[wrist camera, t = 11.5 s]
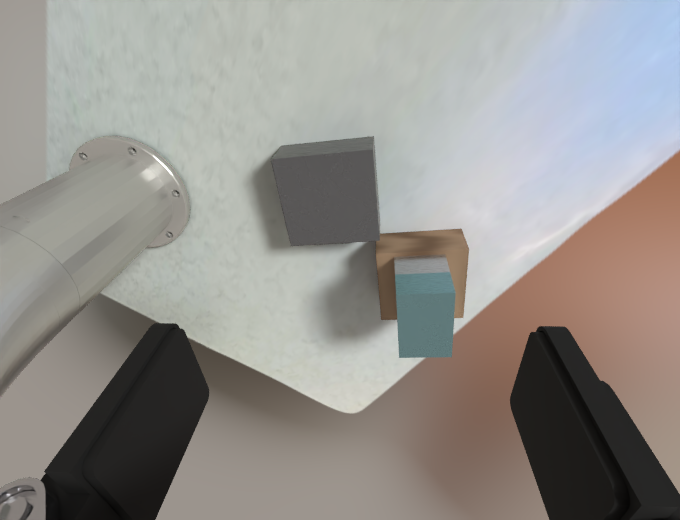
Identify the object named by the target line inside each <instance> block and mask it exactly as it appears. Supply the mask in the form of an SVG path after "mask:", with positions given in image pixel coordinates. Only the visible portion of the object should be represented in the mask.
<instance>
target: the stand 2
mask: <svg viewBox="0 0 680 520" xmlns="http://www.w3.org/2000/svg"><path fill="white" fill-rule="evenodd" d="M440 254H445V255H446V258H447V262H448V266H449V270H450V273H451V277H452V281H453V285H454V288H455V292H456V295H455V311H454V318H463V314H464V302H465V290H466V278H467V266H468V254H469V248H468V245H467V242H466V240H465V237H464V234H463V232H462V229H451V230H435V231H418V232H402V233H386V234H380V241H376V262H377V274H378V285H379V297H380V309H381V320H395V319H397V303H396V284H395V264H394V257H402V256H421V255H440Z"/></svg>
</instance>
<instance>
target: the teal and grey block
mask: <svg viewBox="0 0 680 520" xmlns="http://www.w3.org/2000/svg"><path fill="white" fill-rule="evenodd" d="M394 264H395V284H396V303H397V322H398V341H399V358H409V357H452V343H453V327H454V311H455V295H456V292H455V288H454V285H453V281H452V277H451V273H450V270H449V266H448V262H447V258H446V255H445V254H440V255H421V256H402V257H394Z"/></svg>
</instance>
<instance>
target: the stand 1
mask: <svg viewBox="0 0 680 520" xmlns="http://www.w3.org/2000/svg"><path fill="white" fill-rule="evenodd" d="M271 162H272V166H273V171H274V175H275V179H276V183H277V188H278V192H279V196H280V200H281V205H282V209H283V213H284V217H285V222H286V226H287V230H288V235H289V239H290V243H291V246H299V245H316V244H333V243H350V242H367V241H380V214H379V201H378V187H377V173H376V159H375V145H374V136H373V137H363V138H354V139H344V140H334V141H324V142H314V143H305V144H295V145H285V146H281V147H280V148H279V149H278V151H277V152H276V153H275V155H274V156H273V157H272V158H271Z"/></svg>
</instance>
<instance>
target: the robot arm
mask: <svg viewBox="0 0 680 520" xmlns="http://www.w3.org/2000/svg"><path fill="white" fill-rule="evenodd" d="M189 217H190V201H189V196H188V193H187V190H186V187H185V185H184V183H183V182H182V180H181V178H180V176H179V175H178V173H177V172H176V171H175V169H174V168H173V167H172V166H171V165H170V164H169V163H168V162H167V161H166V160H165V159H164V158H163V157H162V156H161V155H160V154H158V153H157V152H156V151H154V150H153V149H152V148H150V147H148V146H146V145H144V144H143V143H141V142H138V141H135V140H133V139H130V138H126V137H121V136H103V137H99V138H95V139H93V140H91V141H88V142H86V143H85V144H83V145H82V146H80V147H79V148H78V149H77V151H76V152H75V153H74V155H73V157H72V159H71V162H70V168H69V171H68V172H65V173H63V174H61V175H59V176H57V177H55V178H53V179H51V180H49V181H47V182H45V183H43V184H41V185H39V186H37V187H35V188H33V189H31V190H29V191H27V192H25V193H23V194H21V195H19V196H17V197H15V198H13V199H11V200H9V201H6V202H4V203H3V204H1V205H0V398H1V397H2V395H3V394H4V393H5V392H6V390H7V389H8V388H9V386H10V385H11V384H12V383H13V382H14V380H15V379H16V378H17V377H18V376H19V374H20V373H21V372H22V371H23V370H24V368H25V367H26V366H27V365H28V364H29V363H30V362H31V361H32V360H33V359H34V358H35V356H36V355H37V354H38V353H39V352H40V351H41V350H42V349H43V348H44V347H45V346H46V345H47V344H48V343H49V342H50V341H51V340H52V339H53V338H54V337H55V336H56V335H57V334H58V333H59V332H60V331H61V330H62V329H63V328H64V327H65V326H66V325H67V324H68V323H69V322H70V321H71V320H72V319H73V318H74V317H75V316H76V315H77V314H78V313H79V312H80V311H82V310H83V309H84V308H85V307H86V306H87V305H88V304H89V303H90V302H91V301H92V300H93V299H94V298H95V297H96V296H97V295H98V294H99V293H100V292H101V291H102V290H103V289H104V288H105V287H106V286H107V285H108V284H109V283H110V282H111V281H112V280H113V279H114V278H115V277H116V276H117V275H118V274H119V273H120V272H121V271H122V270H123V269H124V268H125V267H127V266H128V265H129V264H130V263H131V262H132V261H133V260H134V259H135V258H136V257H137V256H138V255H139V254H140V253H141V252H142V251H143V250H144V249H145V248H146V247H158V246H163V245H165V244H168V243H170V242H172V241H173V240H175V239H176V238H177V237H178V236H179V235H180V234H181V233H182V232H183V230H184V229H185V227H186V226H187V224H188V221H189ZM208 397H209V388H208V386H207V383H206V381H205V378H204V376H203V374H202V371H201V369H200V366H199V364H198V362H197V360H196V357H195V355H194V352H193V350H192V348H191V345H190V343H189V341H188V338H187V336H186V333H185V331H184V330H183V329H180V328H179V326H178V325H177V324H164V323H156V324H153V325H152V326H151V327H150V328H149V330H148V331H147V332H146V334H145V335H144V336H143V338H142V339H141V340H140V342H139V343H138V344H137V346H136V347H135V348H134V350H133V351H132V353H131V354H130V355H129V357H128V358H127V359H126V361H125V362H124V363H123V365H122V366H121V368H120V369H119V370H118V372H117V373H116V375H115V376H114V377H113V379H112V380H111V381H110V383H109V384H108V385H107V387H106V388H105V389H104V391H103V392H102V393H101V395H100V396H99V398H98V399H97V400H96V402H95V403H94V404H93V406H92V407H91V408H90V410H89V411H88V413H87V414H86V415H85V417H84V418H83V419H82V421H81V422H80V423H79V425H78V426H77V428H76V429H75V430H74V432H73V433H72V435H71V436H70V437H69V438H68V440H67V441H66V443H65V444H64V446H63V447H62V448H61V449H60V451H59V452H58V454H57V455H56V456H55V458H54V459H53V460H52V462H51V463H50V464H49V466H48V467H47V469H46V470H45V471H44V472H45V473H46V474H45V475H44V476H43V478H42V479H41V480H39V479H37V478H31V477H28V478H23V479H18V480H16V481H13V482H11V483H8V484H6V485H4V486H3V487H1V488H0V520H155V519H156V517H157V515H158V512H159V510H160V508H161V505H162V503H163V501H164V499H165V496H166V494H167V492H168V490H169V487H170V485H171V483H172V480H173V478H174V476H175V474H176V471H177V469H178V467H179V465H180V462H181V460H182V458H183V456H184V453H185V451H186V449H187V446H188V444H189V442H190V440H191V437H192V435H193V433H194V431H195V428H196V426H197V424H198V422H199V419H200V417H201V415H202V413H203V410H204V408H205V405H206V403H207V401H208ZM510 404H511V410H512V413H513V416H514V419H515V422H516V424H517V427H518V430H519V433H520V436H521V439H522V442H523V445H524V447H525V450H526V453H527V456H528V459H529V462H530V465H531V468H532V471H533V473H534V476H535V479H536V482H537V485H538V488H539V491H540V494H541V496H542V500H543V502H544V505H545V508H546V511H547V514H548V517H549V520H680V494H679V493H678V491H677V489H676V488H675V486H674V485H673V483H672V482H671V480H670V479H669V477H668V475H667V474H666V472H665V471H664V469H663V468H662V466H661V464H660V463H659V461H658V460H657V458H656V457H655V455H654V453H653V452H652V450H651V449H650V447H649V446H648V444H647V443H646V441H645V439H644V438H643V437H642V435H641V433H640V432H639V430H638V429H637V427H636V425H635V424H634V422H633V421H632V419H631V417H630V416H629V414H628V413H627V411H626V410H625V408H624V407H623V405H622V403H621V402H620V400H619V399H618V397H617V396H616V394H615V392H614V391H613V390H612V388H611V387H610V386H609V385H608V384H607V383H605V382H604V381H600V380H599V378H598V377H597V375H596V373H595V372H594V370H593V369H592V367H591V366H590V364H589V362H588V360H587V359H586V357H585V356H584V354H583V352H582V351H581V349H580V348H579V346H578V344H577V343H576V341H575V339H574V338H573V336H572V335H571V333H570V332H569V330H568V329H567V328H566V327H552V326H551V327H550V326H545V327H544V326H541V327H538V329H537V331H536V332H531V333H530V335H529V338H528V341H527V344H526V348H525V351H524V354H523V357H522V361H521V364H520V367H519V370H518V374H517V377H516V380H515V384H514V387H513V390H512V393H511V397H510Z"/></svg>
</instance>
